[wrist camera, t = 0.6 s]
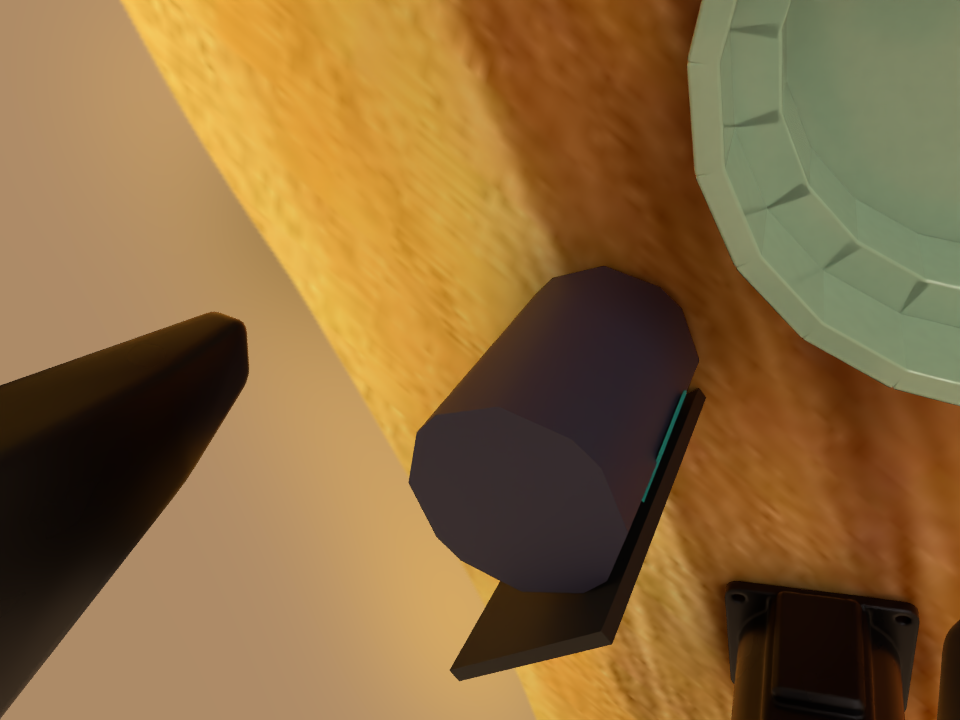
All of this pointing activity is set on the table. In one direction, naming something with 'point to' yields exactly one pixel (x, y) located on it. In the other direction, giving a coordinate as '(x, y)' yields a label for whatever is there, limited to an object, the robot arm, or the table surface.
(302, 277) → the table surface
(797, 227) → the bowl
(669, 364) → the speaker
